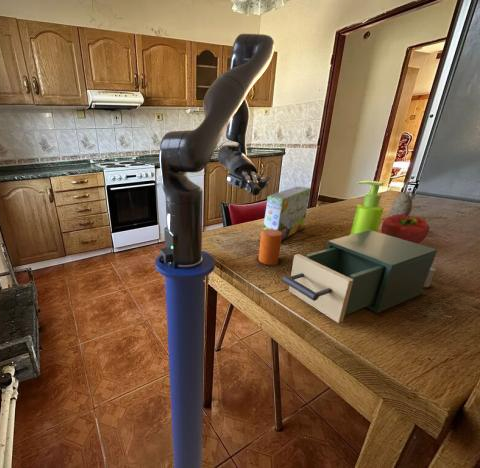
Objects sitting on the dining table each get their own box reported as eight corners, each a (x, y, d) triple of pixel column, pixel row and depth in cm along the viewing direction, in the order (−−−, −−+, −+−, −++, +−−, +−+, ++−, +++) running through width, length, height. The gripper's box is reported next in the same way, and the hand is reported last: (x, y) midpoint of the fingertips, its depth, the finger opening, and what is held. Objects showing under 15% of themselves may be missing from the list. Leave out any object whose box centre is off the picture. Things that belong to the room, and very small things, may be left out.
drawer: (318, 331, 45) (328, 288, 41) (271, 296, 54) (275, 259, 51) (385, 303, 51) (397, 264, 48) (331, 276, 61) (339, 242, 58)
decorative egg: (384, 217, 101) (392, 192, 97) (393, 215, 103) (400, 190, 100) (402, 221, 96) (411, 195, 92) (411, 219, 98) (419, 193, 95)
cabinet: (377, 313, 50) (392, 265, 46) (319, 282, 61) (327, 240, 57) (420, 294, 55) (437, 249, 51) (359, 268, 66) (370, 229, 62)
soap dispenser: (347, 243, 80) (363, 178, 73) (374, 250, 75) (393, 181, 68) (339, 248, 77) (354, 181, 70) (366, 256, 72) (386, 184, 65)
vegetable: (429, 256, 70) (442, 221, 67) (382, 250, 75) (392, 218, 71) (414, 241, 80) (424, 210, 76) (373, 237, 84) (381, 207, 80)
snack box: (277, 245, 81) (283, 198, 75) (261, 240, 85) (265, 195, 79) (304, 227, 94) (311, 187, 88) (289, 224, 98) (295, 185, 92)
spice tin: (267, 266, 68) (271, 237, 65) (254, 258, 73) (257, 230, 70) (282, 262, 70) (286, 233, 67) (268, 255, 75) (272, 227, 72)
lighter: (429, 287, 57) (442, 254, 54) (421, 287, 57) (433, 254, 54) (403, 271, 64) (413, 241, 61) (396, 271, 64) (405, 241, 61)
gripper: (223, 156, 80) (234, 176, 66) (265, 159, 80) (284, 180, 66) (219, 179, 84) (228, 203, 70) (258, 182, 85) (276, 206, 70)
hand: (255, 192), depth 68 cm, fingers closed
